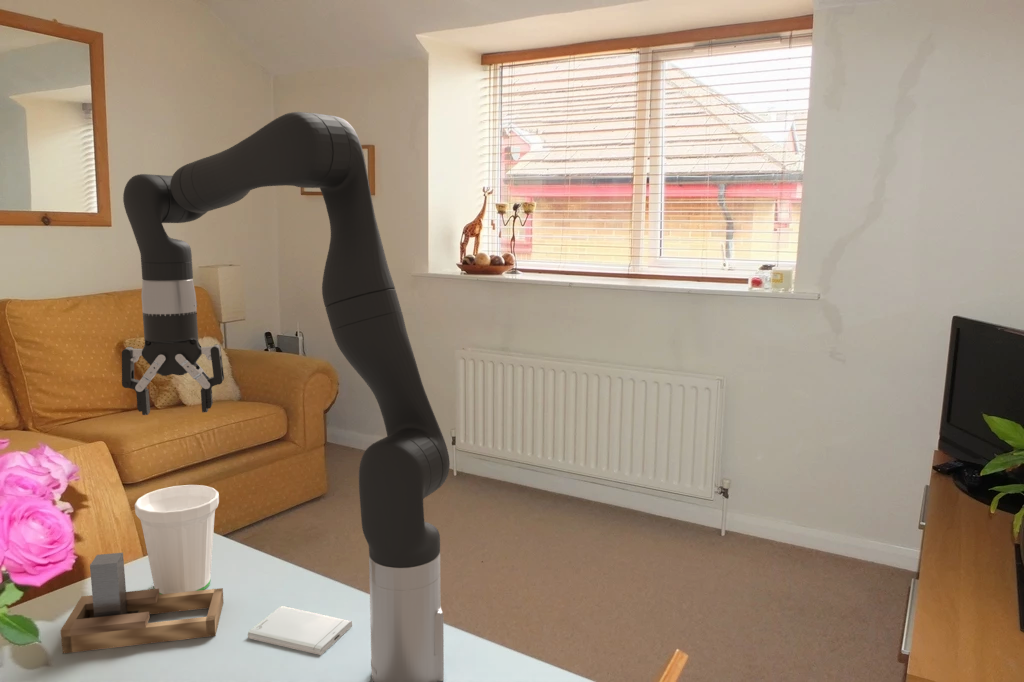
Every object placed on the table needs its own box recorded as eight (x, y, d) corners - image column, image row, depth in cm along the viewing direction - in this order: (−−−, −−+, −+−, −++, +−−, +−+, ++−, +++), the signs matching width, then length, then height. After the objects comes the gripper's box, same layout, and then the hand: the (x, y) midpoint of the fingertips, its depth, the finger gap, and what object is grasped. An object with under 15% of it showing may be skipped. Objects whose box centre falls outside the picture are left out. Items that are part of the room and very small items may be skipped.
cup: (127, 587, 124) (120, 499, 122) (199, 562, 134) (195, 479, 131) (163, 613, 116) (157, 519, 114) (238, 584, 126) (233, 496, 123)
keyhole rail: (223, 602, 120) (222, 582, 119) (215, 635, 110) (214, 613, 110) (83, 617, 115) (81, 596, 114) (62, 653, 106) (60, 630, 105)
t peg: (139, 617, 115) (134, 548, 113) (129, 638, 110) (124, 565, 108) (95, 622, 114) (90, 552, 112) (83, 643, 108) (77, 570, 106)
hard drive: (247, 631, 110) (320, 648, 106) (282, 604, 117) (352, 618, 113) (247, 641, 110) (321, 658, 106) (282, 614, 118) (352, 629, 114)
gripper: (112, 313, 110) (120, 421, 113) (216, 311, 113) (221, 416, 116) (124, 307, 117) (132, 409, 120) (222, 305, 121) (227, 404, 123)
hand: (176, 412), depth 118 cm, fingers open, 8 cm apart
